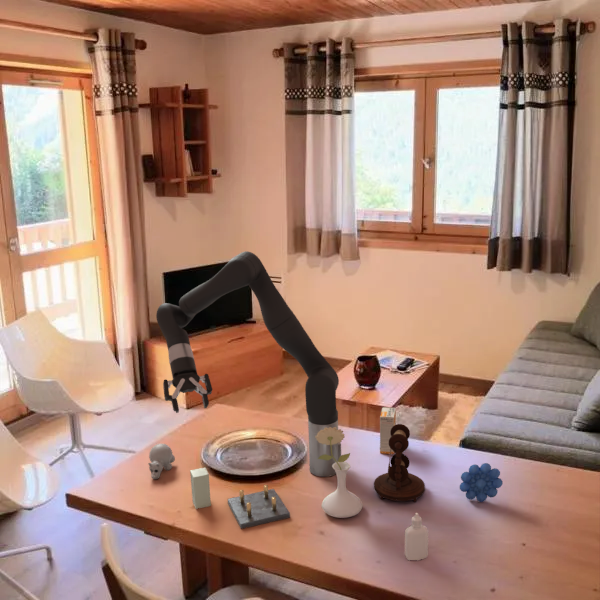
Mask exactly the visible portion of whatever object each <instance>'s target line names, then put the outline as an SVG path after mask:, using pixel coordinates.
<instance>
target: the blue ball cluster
mask: <svg viewBox="0 0 600 600" xmlns="http://www.w3.org/2000/svg"><path fill="white" fill-rule="evenodd" d="M500 475H501V471H500V469H498V468H492V466H491V464H489V463H487V462H484V463H482V464H481V465H480V466H479V464H475V463H474V464H471V465H470V466H469V468H468V471H464V472H463V473H461V475H460V479H461V481H462V482H460V485H459V490H460V491H461V492H463V493H465V497H466V499H467V500H475V499H476V501H478V502H479V503H483V502H485V501H486V500H487V498H495V497H497V495H498V489H500V488H501V487H502V486H503V479H501V478H500Z"/></svg>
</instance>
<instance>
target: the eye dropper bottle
mask: <svg viewBox="0 0 600 600" xmlns="http://www.w3.org/2000/svg"><path fill="white" fill-rule="evenodd" d="M422 519H423V518H422V517H421V516H420V515H419V513H418V512H415V514H414V516H412V517H411V525H409V526H408V527H407V528H405V531H404V557H405V558H406V559H407V561H410V560H417V561H421V560H420V559H422V560H424V559H426V558H427V557H428V555H429V530H428V528H427V526H425V525H423V524H422V523H423V522H422Z"/></svg>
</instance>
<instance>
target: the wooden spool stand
mask: <svg viewBox="0 0 600 600" xmlns="http://www.w3.org/2000/svg"><path fill="white" fill-rule="evenodd" d="M390 434H391V437H390V439H389V446H390V454H389V456H390V457H389V460H388V467H387V472H385V473H382V474H380V475H378V476H377V477H376V478H375V479H374V481H373V490H374V492H375V493H376V494H377V495H379V498H380V500H383V499H387V500H391V501H398V502H406V501H413V502H414V503H416V501H417V499H418V498H420V497H421V496H422V495H423V494H424V493H425V491H426V489H425V488H426V484H425V481H424V480H423V479H422V478H421V477H419V476H417V475H415V474H413V473H411V472H409V470H408V468H409V467H410V459H409V457H408V456H407V454H404V452H406V450H407V449H408V448H409V444H410V443H409V438H410V435H411V431H410V428H409V427H408V426H406V425H405V424H402V423H397V424H396V425H394V426H393V427H392V428H391V431H390ZM391 449H392V450H393V451H394V454H391ZM391 455H392V456H391Z"/></svg>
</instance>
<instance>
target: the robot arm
mask: <svg viewBox="0 0 600 600" xmlns="http://www.w3.org/2000/svg"><path fill="white" fill-rule="evenodd" d="M247 286H249V288H250V289H251V291H252V293H253V294H254V295H255V297H256V299H257V301H258V304H259V308H260V313H261V316H262V319H263V322H264V325H265V327H266V329H267V330H268V332H269V334H270V335H271V337H272V338H273V339H274V341H275V342H276V343H277V345H278V346H279V347H280V348H282V349H283V350H284V351H285V352H286V353H288V354H289V355H290V356H292V357H293V358H294V359H295V360H296V361H297V362H298V363H299V364H300V366H301V368H302V370H303V371H304V372H305V374H306V375H307V380H306V382H305V386H304V388H305V389H304V390H305V391H304V393H305V394H304V396H305V408H306V409H305V411H306V414H307V424H308V426H307V427H308V453H309V455H308V456H309V457H308V458H309V459H308V460H309V472H310V473H311V474H312V475H314V476H316V477H322V478H323V477H324V478H325V477H331V476H335V475H337V474H336V472H335V470H334V469H333V467H332V465H333V464H334V463H336V461H337V462H338V459H339V458H340V456H341V455H342V442H340V443H337V444H333V445H332V455H333V457H334V458H335V459H336V461H335V460H334V459H333V457H332V458H331V459H330V460H322V459H318V458H319V457H320V456H321V455H325V454H326V455H330V456H332V455H331V446H330V445H326V444H321V443H319V442H318V441H317V440H316V438H315V436H317V433H318V432H319V431H320V430H324V428H329V427H331V428H334V427H336V430H339V411H338V409H337V394H336V392H337V390H338V386H339V381H340V380H339V375H338V372H336V370H335V368H334V367H333V366H332V365H331V364H330V363H329V361H328V360H327V359H326V358H325V357H324V356H323V355H322V354H321V352H320V351H319V350H318V348H317V347H316V346H315V344H314V342H313V340H312V339H311V338H310V336H309V334H308V333H307V331H306V330H305V328H304V327H303V326H302V324H301V322H300V321H299V319H298V318H297V316H296V315H295V314H294V312H293V310H292V309H291V308H290V307H289V305H288V303H287V302H286V300H285V299H284V298H283V296H282V294H281V293H280V291H279V290H278V289H277V287H276V286H275V283H274V281H272V279H271V277H270V275H269V273H268V271H267V270H266V267H265V266H264V264H263V262H262V261H261V258H259V256H258V255H256V254H255V253H253V252H251V251H241V252H240V253H238V254H236V255H235V256H234V257H232V258H231V259H229V261H228V262H227V263H226V264H225V265H224V266H223V267H222V268H221V269H220V270H219V271H218V272H217V273H216V274H215V275H213V276H212V277H211V278H209V280H206V281H205V282H203V283H201V284H199V285H198V286H196V287H194V288H192V289H191V290H190V291H188V292H187V293H185V294H183V296H181V297H180V299H179V301H178V305H176V304H172V303H169V302H168V303H167V302H165V303H162V304H160V305H159V306H158V308H157V309H156V315H155V316H156V322H157V325H158V326H159V329H160V330H161V333H162V335H163V337H164V338H165V340H166V347H167V352H168V363H169V367H170V370H171V371H170V372H171V376H172V380H168V379H167V378H166V379H164V380H163V382H162V388H163V396H164V401H166V402H168V401H169V402H171V406H172V410H173V412H175V413H176V414H178V413H179V412H180V408H179V402H178V399H177V398H178V397H179V395H180V393H182V394H185V393H188V392H189V393H193V392H194V391H195V392H196V394H199V395H200V396H202V397H201V400H202V405H203V409H207V408H208V406H209V403H210V402H209V395H212V392H213V385H212V383H211V379H210V376H209V374H208V373H204V375H201V376H200V375H199V374H198V371H197V366H196V362H195V357H194V352H193V350H192V347H191V343H190V338H189V334H188V331H186V329H184V327H187V325H188V324H189V323H190V322H191V321H192V320H193V319H194V317H196V315H197V314H199V313H200V312H201V311H203V310H205V309H206V308H208V307H210V305H212V304H214V303H215V302H216V301H217V300H219V299H220V298H221V297H223V296H225V295H226V294H227V295H228V294H229V293H231V292H234V291H236V290H239V289H241V288H245V287H247ZM200 381H201V383H204V385H205V388H204V387H203V386H202V385H201V384H200ZM171 385H172V386H173V387H174V388H175V389H174V391H173V393H172V394H170V390H169V389H170V388H171Z"/></svg>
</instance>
